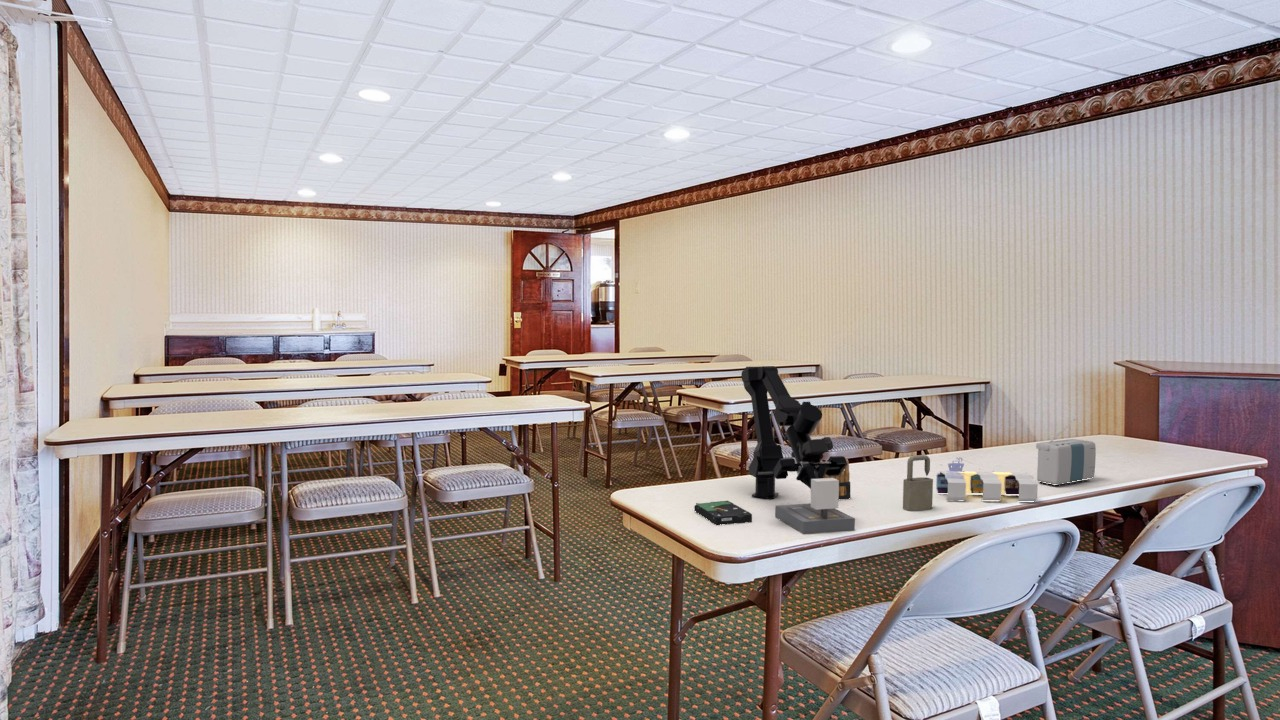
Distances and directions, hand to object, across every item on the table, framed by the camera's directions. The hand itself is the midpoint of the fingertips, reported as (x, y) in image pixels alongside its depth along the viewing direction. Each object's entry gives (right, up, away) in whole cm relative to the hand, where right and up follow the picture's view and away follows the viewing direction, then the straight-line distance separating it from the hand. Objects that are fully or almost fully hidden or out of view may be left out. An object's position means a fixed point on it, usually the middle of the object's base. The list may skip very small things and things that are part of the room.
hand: (821, 495), depth 187 cm
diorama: (+56, -7, +32) cm, 65 cm away
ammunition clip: (+11, -7, +29) cm, 32 cm away
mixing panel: (-1, -8, +4) cm, 9 cm away
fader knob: (0, -5, -1) cm, 5 cm away
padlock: (+32, -7, +19) cm, 38 cm away
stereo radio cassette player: (+93, -6, +55) cm, 108 cm away
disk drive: (-24, -8, +10) cm, 27 cm away
